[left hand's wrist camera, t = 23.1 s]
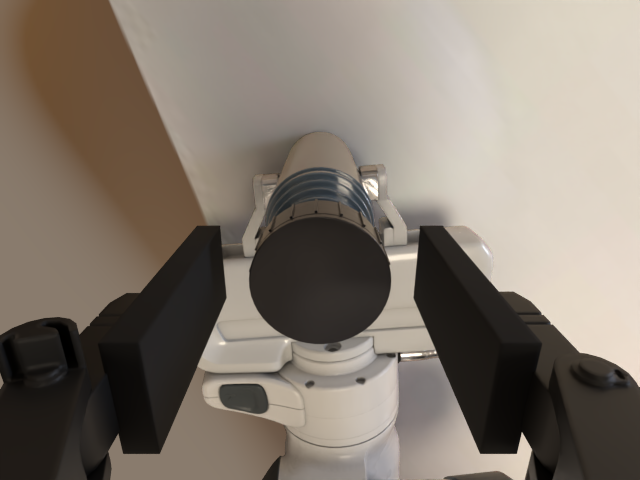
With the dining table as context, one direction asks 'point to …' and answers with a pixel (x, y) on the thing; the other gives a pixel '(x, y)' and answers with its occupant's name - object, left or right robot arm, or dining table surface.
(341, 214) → the cap
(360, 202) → the bottle
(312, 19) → the dining table surface
